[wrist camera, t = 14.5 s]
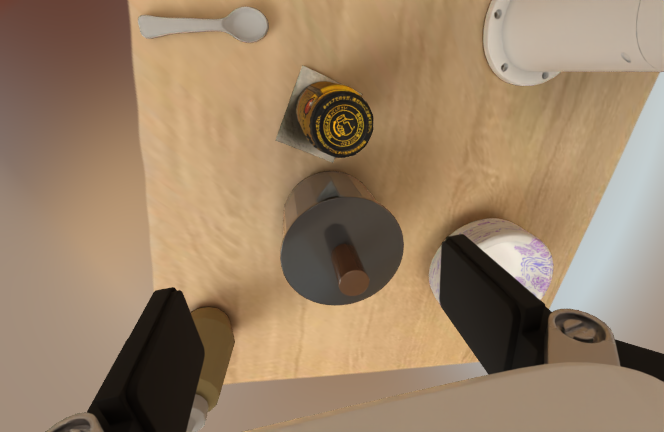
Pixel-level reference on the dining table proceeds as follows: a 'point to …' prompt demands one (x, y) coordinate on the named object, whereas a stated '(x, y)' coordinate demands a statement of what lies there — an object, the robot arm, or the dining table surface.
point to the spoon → (209, 25)
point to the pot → (321, 192)
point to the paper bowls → (505, 254)
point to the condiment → (325, 118)
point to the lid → (341, 250)
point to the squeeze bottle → (210, 362)
